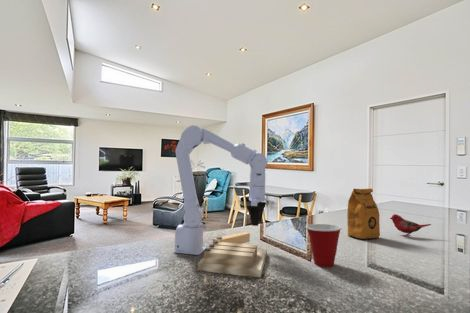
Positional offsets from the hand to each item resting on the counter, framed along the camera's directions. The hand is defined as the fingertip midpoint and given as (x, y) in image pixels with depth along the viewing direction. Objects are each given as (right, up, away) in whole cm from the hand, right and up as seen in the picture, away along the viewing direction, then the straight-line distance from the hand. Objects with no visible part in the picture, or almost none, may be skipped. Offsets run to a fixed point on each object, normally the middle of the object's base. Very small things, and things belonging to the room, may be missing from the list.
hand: (256, 223), depth 90 cm
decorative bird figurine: (+73, -13, +24) cm, 78 cm away
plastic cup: (+20, -10, -12) cm, 25 cm away
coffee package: (+50, -12, +21) cm, 55 cm away
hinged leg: (-9, -7, -2) cm, 12 cm away
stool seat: (-8, -9, -12) cm, 17 cm away
